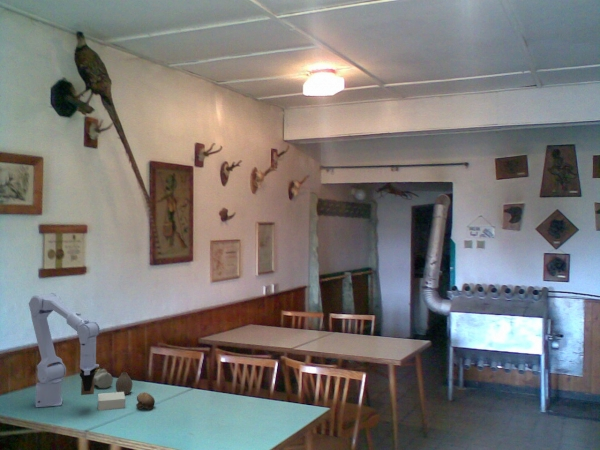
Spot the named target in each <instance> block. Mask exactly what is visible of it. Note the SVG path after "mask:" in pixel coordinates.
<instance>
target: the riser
mask: <svg viewBox="0 0 600 450" xmlns="http://www.w3.org/2000/svg"><path fill="white" fill-rule="evenodd" d="M97 397H98V398H97V405H98V406H97V407H98V408H97V409H98V411H107V410H117V409H126V395H124V392H117V391H115V392H114V391H113V392H105V393H98V395H97Z"/></svg>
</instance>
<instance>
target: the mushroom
mask: <svg viewBox="0 0 600 450" xmlns="http://www.w3.org/2000/svg"><path fill="white" fill-rule="evenodd" d="M136 401H137V403H136V404H135V406H136V408H137V409H143V408H144V409H147V410H152V409H153V408H154V406H155V398H154V397H153V396H152V395H151V394H150V393H149V392H141V393H139V394H138V395H136Z"/></svg>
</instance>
